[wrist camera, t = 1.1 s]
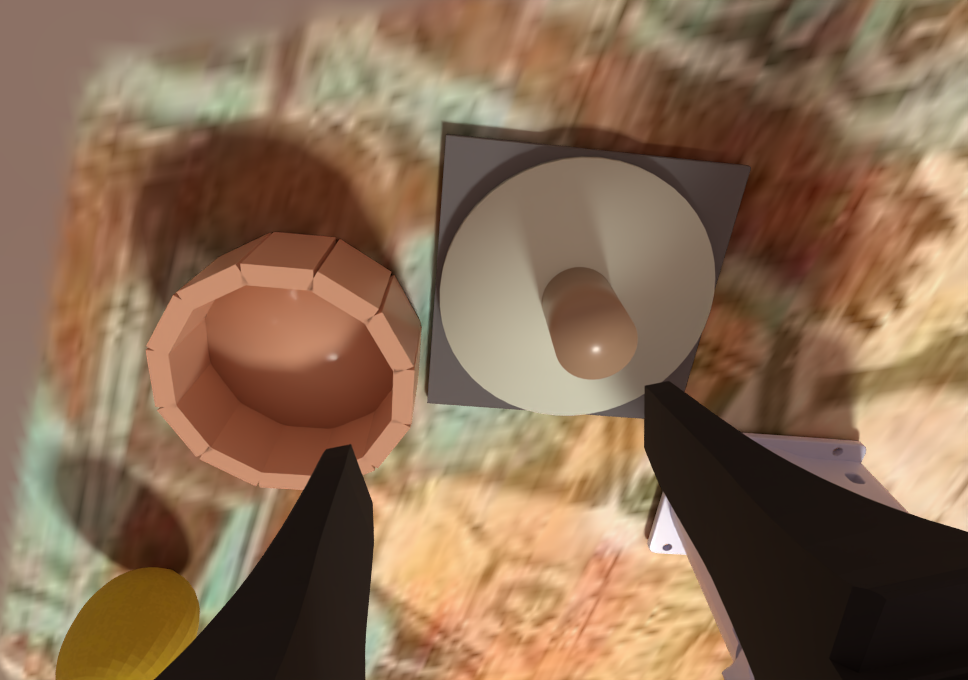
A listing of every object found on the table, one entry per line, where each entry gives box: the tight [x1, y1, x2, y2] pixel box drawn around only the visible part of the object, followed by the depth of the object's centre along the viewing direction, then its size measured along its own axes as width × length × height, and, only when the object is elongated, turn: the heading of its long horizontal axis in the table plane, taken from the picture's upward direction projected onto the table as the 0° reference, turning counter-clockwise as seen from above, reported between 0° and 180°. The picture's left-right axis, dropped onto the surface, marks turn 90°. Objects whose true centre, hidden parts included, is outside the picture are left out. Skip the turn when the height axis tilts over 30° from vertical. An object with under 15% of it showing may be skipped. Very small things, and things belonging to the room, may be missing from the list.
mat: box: [427, 134, 751, 419], centre depth 25 cm, size 12×12×1 cm
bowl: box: [146, 232, 422, 490], centre depth 24 cm, size 10×10×4 cm
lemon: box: [56, 567, 200, 680], centre depth 29 cm, size 6×6×8 cm
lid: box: [440, 156, 715, 416], centre depth 23 cm, size 12×12×5 cm
